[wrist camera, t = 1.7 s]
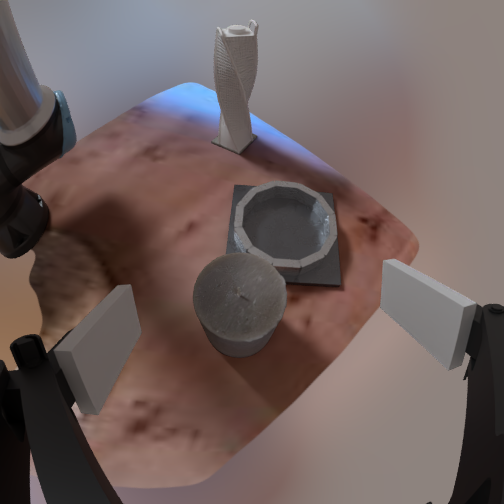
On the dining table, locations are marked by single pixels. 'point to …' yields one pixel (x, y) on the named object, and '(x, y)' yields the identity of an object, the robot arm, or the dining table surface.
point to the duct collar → (287, 231)
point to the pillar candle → (239, 302)
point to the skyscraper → (235, 84)
